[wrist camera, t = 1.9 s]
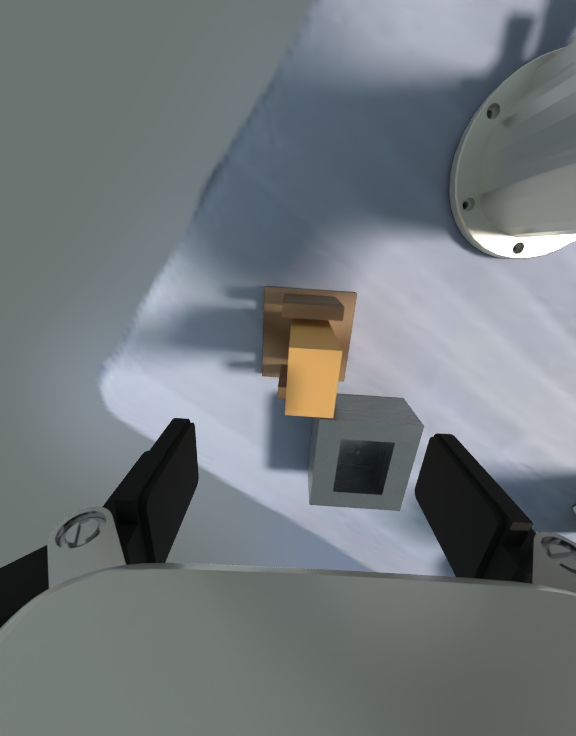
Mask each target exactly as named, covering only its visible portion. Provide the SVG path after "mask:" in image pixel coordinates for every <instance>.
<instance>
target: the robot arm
mask: <svg viewBox="0 0 576 736" xmlns="http://www.w3.org/2000/svg"><path fill="white" fill-rule="evenodd" d="M487 114H488V117H487ZM449 193H450V203H451V209H452V213H453V216H454V219H455V222H456V224H457V226H458V228H459V230H460V231H461V233H462V235H463V236H464V237H465V238H466V239H467V240H468V241H469V242H470V244H471V245H472V246H474V247H476V248H477V249H479V250H480V251H482V252H483V253H486V254H489V255H491V256H494V257H498V258H507V259H527V258H533V257H538V256H543V255H545V254H548V253H551V252H554V251H557V250H559V249H561V248H562V247H564V246H566V245H568V244H570V243H572V242H574V241H575V240H576V35H575V36H574V37H573V38H572V39H571V41H570V43H569V45H568V46H567V47H564V48H560V49H557V50H554V51H551V52H549V53H546V54H543V55H541V56H539V57H537V58H536V59H534V60H532V61H530V62H529V63H527V64H525V65H524V66H522V67H521V68H519V69H518V70H517V71H516V72H514V73H513V74H512V75H511V76H509V77H508V78H507V79H505V80H504V81H503V82H502V83H501V84H500V85H499V86H498V87H497V88H496V89H495V90H494V91H493V92H492V93H491V94H490V95H489V96H488V97H487V98H486V99H485V101H484V102H483V103H482V104H481V106H480V107H479V108H478V110H477V111H476V112H475V113H474V115H473V117H472V118H471V120H470V122H469V124H468V125H467V127H466V129H465V131H464V132H463V134H462V137H461V139H460V142H459V144H458V147H457V149H456V152H455V156H454V160H453V164H452V168H451V173H450V187H449ZM463 203H464V204H465V208H464V209H463ZM197 484H198V463H197V449H196V436H195V425H194V423H190V420H189V419H182V418H174V419H173V420H172V421H171V422H170V424H169V425H168V426H167V428H166V429H165V430H164V432H163V433H162V434H161V436H160V437H159V438H158V440H157V441H156V443H155V444H154V445H153V447H152V448H151V450H150V451H146V452H144V453H143V454H142V456H141V457H140V458H139V460H138V461H137V462H136V463H135V465H134V466H133V467H132V469H131V470H130V471H129V473H128V474H127V475H126V477H125V478H124V479H123V481H122V482H121V483H120V484H119V486H118V487H117V488H116V490H115V491H114V492H113V494H112V495H111V496H110V498H109V499H108V500H107V502H106V503H105V504H104V506H103V507H89V508H86V509H82V510H79V511H77V512H75V513H74V514H71V515H69V516H68V517H66V518H65V519H64V520H62V521H61V522H60V523H59V524H58V525H57V526H56V527H55V528H54V529H53V531H52V532H51V534H50V535H49V538H48V543H47V545H46V546H44V547H42V548H40V549H38V550H36V551H34V552H32V553H30V554H28V555H26V556H24V557H22V558H20V559H18V560H16V561H14V562H12V563H10V564H8V565H6V566H4V567H2V568H0V736H576V543H575V542H573V541H571V540H569V539H567V538H565V537H563V536H560V535H558V534H555V533H551V532H539V533H537V534H536V533H535V532H534V531H533V529H532V528H531V527H532V525H533V522H532V521H531V520H530V519H529V518H528V517H527V516H526V515H525V514H524V513H523V511H522V510H521V509H520V508H519V507H518V506H517V505H516V504H515V503H514V501H513V500H512V499H511V498H510V497H509V496H508V495H507V494H506V493H505V492H504V490H503V489H502V488H501V487H500V486H499V485H498V484H497V483H496V482H495V480H494V479H493V478H492V477H491V476H490V475H489V474H488V473H487V472H486V471H485V469H484V468H483V467H482V466H481V465H480V464H479V463H478V462H477V461H476V459H475V458H474V457H473V456H472V455H471V454H470V453H469V452H468V451H467V450H466V448H465V447H464V446H463V445H462V444H461V443H460V442H459V441H458V440H457V438H456V437H455V436H454V435H452V434H438V433H437V434H435V435H434V437H431V438H430V440H429V443H428V446H427V450H426V453H425V456H424V460H423V463H422V467H421V470H420V473H419V477H418V480H417V483H416V487H415V496H416V499H417V501H418V503H419V505H420V507H421V509H422V511H423V513H424V515H425V517H426V519H427V521H428V523H429V525H430V527H431V528H432V530H433V532H434V534H435V536H436V538H437V540H438V542H439V544H440V546H441V548H442V550H443V552H444V554H445V556H446V558H447V560H448V562H449V564H450V566H451V567H452V569H453V571H454V573H455V575H456V577H446V576H429V575H413V574H396V573H378V572H360V571H342V570H322V569H305V568H285V567H284V568H283V567H263V566H242V565H222V564H191V563H165V562H166V559H167V557H168V554H169V552H170V549H171V547H172V545H173V542H174V540H175V538H176V535H177V533H178V530H179V528H180V526H181V523H182V521H183V518H184V516H185V514H186V511H187V508H188V506H189V504H190V501H191V499H192V497H193V494H194V492H195V489H196V487H197Z"/></svg>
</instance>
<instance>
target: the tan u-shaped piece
mask: <svg viewBox="0 0 576 736" xmlns="http://www.w3.org/2000/svg"><path fill="white" fill-rule="evenodd" d="M356 298H357V293H356V292H344V291H328V290H313V289H297V288H282V287H267V286H265V289H264V326H263V364H262V376H267V377H279V384H278V398H280V399H286V387H287V372H288V356H289V342H290V330H291V318H302V319H317V320H328V321H329V323H330V325H331V327H332V330H333V332H334V334H335V336H336V338H337V340H338V342H339V345H340V347H341V349H342V358H341V365H340V372H339V380H338V381H343V382H344V378H345V371H346V364H347V358H348V351H349V344H350V338H351V331H352V324H353V318H354V311H355V304H356Z"/></svg>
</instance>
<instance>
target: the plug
mask: <svg viewBox="0 0 576 736" xmlns="http://www.w3.org/2000/svg"><path fill="white" fill-rule="evenodd" d="M341 358H342V349H341V347H340V345H339V342H338V340H337V338H336V336H335V334H334V332H333V330H332V327H331V325H330V323H329V321H328V320H317V319H302V318H291V330H290V342H289V356H288V372H287V387H286V403H285V415H292V416H307V417H322V418H333V415H334V408H335V401H336V394H337V387H338V380H339V372H340V365H341Z"/></svg>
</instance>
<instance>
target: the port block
mask: <svg viewBox="0 0 576 736" xmlns="http://www.w3.org/2000/svg"><path fill="white" fill-rule="evenodd" d="M423 428H424V425H423V424H422V423H421V421H420V420H419V419H418V417H417V416H416V414H415V413H414V412H413V410H412V409H411V408H410V406H409V405H408V404H407V402H406V401H405V400H404V398H391V397H376V396H361V395H346V394H336V401H335V408H334V415H333V418H322V417H313V425H312V434H311V443H310V452H309V462H308V485H309V505H321V506H336V507H350V508H365V509H380V510H394V511H400V508H401V504H402V501H403V497H404V494H405V490H406V487H407V484H408V480H409V477H410V473H411V470H412V466H413V463H414V459H415V456H416V452H417V449H418V446H419V442H420V439H421V435H422V432H423Z"/></svg>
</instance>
